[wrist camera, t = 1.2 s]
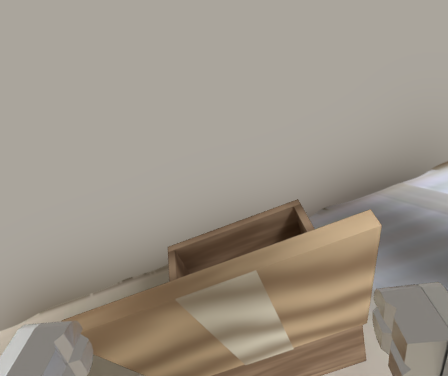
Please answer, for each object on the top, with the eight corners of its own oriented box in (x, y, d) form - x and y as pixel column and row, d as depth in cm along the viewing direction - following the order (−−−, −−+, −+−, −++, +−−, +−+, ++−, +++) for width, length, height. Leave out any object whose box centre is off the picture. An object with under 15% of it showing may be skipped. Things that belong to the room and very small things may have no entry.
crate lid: (360, 311, 33) (367, 324, 32) (173, 375, 34) (175, 389, 33) (370, 209, 19) (382, 226, 19) (61, 320, 21) (59, 341, 20)
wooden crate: (366, 360, 40) (360, 312, 33) (212, 411, 42) (174, 375, 34) (310, 250, 54) (297, 199, 47) (197, 290, 56) (167, 247, 48)
